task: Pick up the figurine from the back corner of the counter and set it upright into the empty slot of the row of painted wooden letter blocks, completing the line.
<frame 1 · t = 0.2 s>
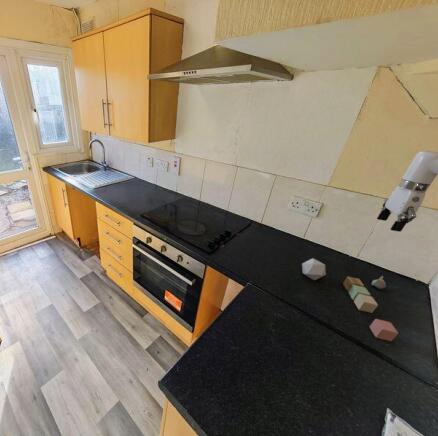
hand: (388, 225, 93), 28 cm above the table, tool pointing down, fingers open, 9 cm apart
block 4: (379, 333, 79), on the table
figurine: (376, 287, 101), on the table
die: (310, 276, 105), on the table
block 2: (356, 297, 95), on the table
block 3: (362, 307, 90), on the table
block 1: (350, 288, 99), on the table
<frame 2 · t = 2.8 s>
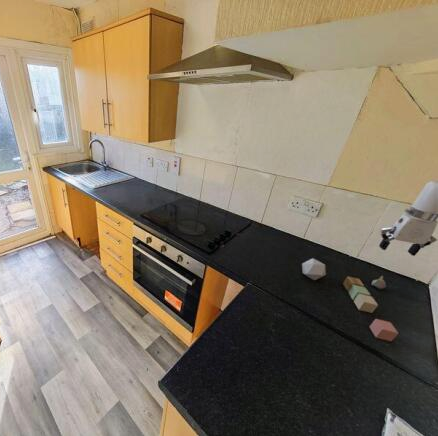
hand: (396, 251, 93), 19 cm above the table, tool pointing down, fingers open, 9 cm apart
nothing on the table moved.
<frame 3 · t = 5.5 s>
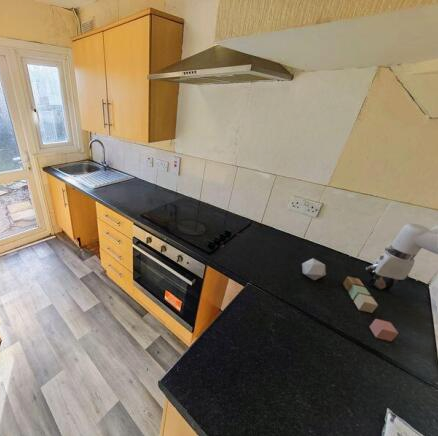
hand: (377, 285, 100), 1 cm above the table, tool pointing down, fingers closed on figurine, 5 cm apart
figurine: (376, 287, 101), on the table, touching gripper
everything else where it was.
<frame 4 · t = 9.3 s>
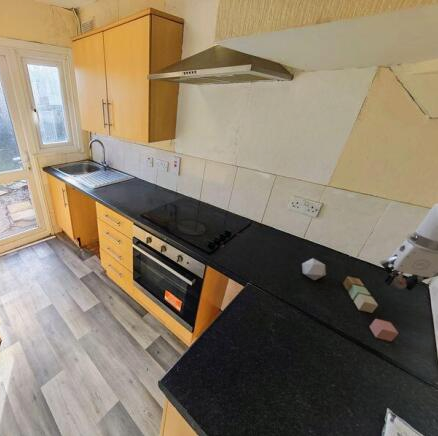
hand: (396, 284, 78), 17 cm above the table, tool pointing down, fingers closed on figurine, 5 cm apart
figurine: (394, 287, 78), point 16 cm above the table, touching gripper
everything else where it was.
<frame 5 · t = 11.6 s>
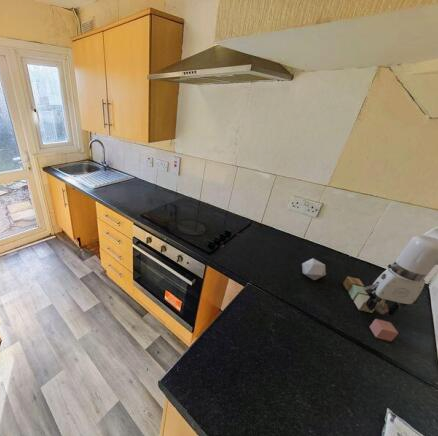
hand: (378, 309, 82), 6 cm above the table, tool pointing down, fingers closed on figurine, 5 cm apart
figurine: (377, 311, 83), point 5 cm above the table, touching gripper
everything else where it was.
when the fingers open (1 cm above the table, at t = 13.2 s): figurine stays where it is, on the table.
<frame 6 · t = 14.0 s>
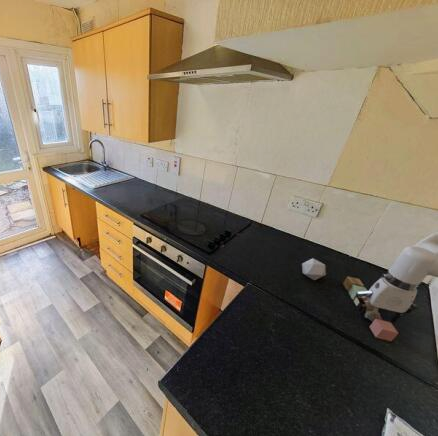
hand: (374, 315, 84), 2 cm above the table, tool pointing down, fingers open, 9 cm apart
figurine: (370, 320, 85), on the table
everything else where it was.
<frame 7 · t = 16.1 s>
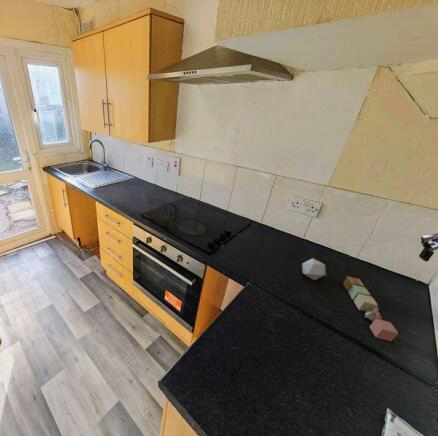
nothing on the table moved.
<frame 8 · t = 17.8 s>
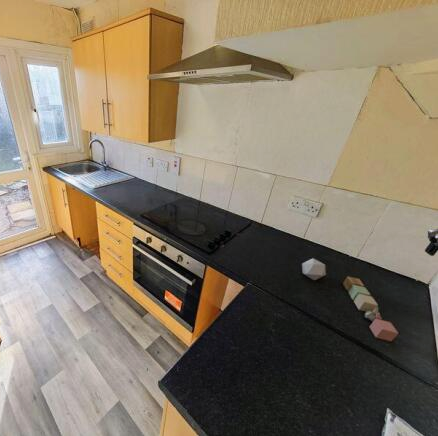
nothing on the table moved.
at the end: figurine 0.1 cm from the target spot on the table beside the block 3, on the table; figurine tilted 0°; block 4 moved 0.0 cm from its start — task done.
